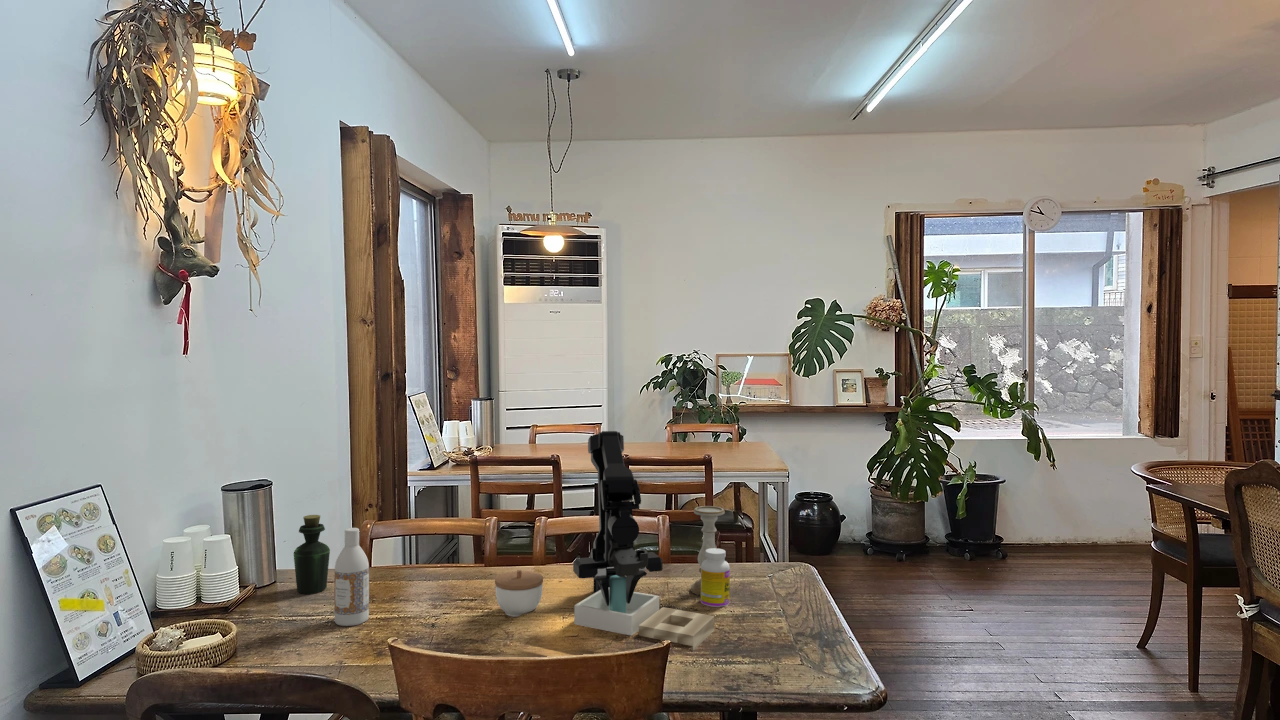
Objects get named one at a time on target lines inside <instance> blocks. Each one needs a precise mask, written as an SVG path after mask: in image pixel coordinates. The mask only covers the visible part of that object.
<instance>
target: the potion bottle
mask: <svg viewBox="0 0 1280 720" xmlns="http://www.w3.org/2000/svg"><path fill="white" fill-rule="evenodd" d="M302 519H303V522H304V524H303V525H301V526H300V527H299V529H298V533H299V534H300V533H301V534H303V538H304V540H305V541H304V543H302V544H300V545H299V546H297V547H296V548H295V550H294V551H293V562H294V572H295V573H294V574H295V582H296V591H297V592H298V593H299V594H302V595H313V594H318V593H322V592H323V591H325V590H326V589H327V584H328V575H329V564H330V551H331V549H330V547H329V546H328V544H327V543H324V542H321V541H319V539H320V536H321V533H322V532H324V531H325V530H326V528H325V525H324V524H323V523H320V519H321V515H320V514H307V515H305V516H303V518H302Z"/></svg>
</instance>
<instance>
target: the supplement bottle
mask: <svg viewBox="0 0 1280 720" xmlns="http://www.w3.org/2000/svg"><path fill="white" fill-rule="evenodd" d="M705 556H706V560H705V561H703V562H702V564H701V566H700V568H701V573H700V579H701V596H700V603H701V604H702V605H704V606H707V607H713V608H715V607H716V608H719V607H720V608H721V607H726V606H728V605H730V584H731V583H730V577H731V575H730V570H731V567H730V563H728V561H727V560H725V559H726V550H725V549H723V548H719V547H718V548H717V547H716V548H711V549H707V550H706V552H705Z"/></svg>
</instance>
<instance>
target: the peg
mask: <svg viewBox="0 0 1280 720" xmlns="http://www.w3.org/2000/svg"><path fill="white" fill-rule="evenodd" d="M609 610H611V611H616V612H622V613H626V576H624V577H619V576H617V575H613V576H611V577H610V602H609Z"/></svg>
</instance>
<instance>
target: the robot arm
mask: <svg viewBox="0 0 1280 720" xmlns="http://www.w3.org/2000/svg"><path fill="white" fill-rule="evenodd" d="M624 444H625V441H624V435H622V434H621V432H620V431H619V432H618V431H616V430H607V431H606V430H602V431H601V432H598V433H596V434H592V435H590V436H589V437H588V440H587V453H588V454H590V462H591V463H592V465H593V466H594V468H595V470H596V471H597V487H598V488H597V489H598V490H597V493H598V494H597V495H598V497H597V498H598V522H599V524H598V528H599V531H598V533H597V536H596V537H595V539H594V541H593V548H591V550H590V555H589V557H579V558H575V560H574V561H573V563H572V568H573V569H572V570H573V571H572V572H573V573H574V574H575V575H576V576H577V577H578V578H579V579H588V578H589V579H591V578H593V589H592V590H593V594H594V593H596V592H598V591H599V590H601V592H602V595H603V597H604V600H605V603H606V605H607V606H609V588H610V577H611V576H613V575H617V576H619V577H624V576H625V577H626V602H627V603H628V604H629V603H630V601H631V598H632V595H633V593H634V592H635V590H636V587H637V585H638V583H639V580H641V578H643V577H645V576H647V575H648V572H650V573H652V572H653V573H654V572H661V571H663V568H664V566H663V559H662V558H661V557H660V556H659V555H657V554H656V553H655V552H654V551H649V552H648V550H647V549H638V550H637V549H636V550H635V546H634V542H635V541H637V539H638V537H639V534H640V527H639V524H638V522H637V520H636V519H635V518H634V516H633V510H640V505H641V503H642V498H641V492H640V490H641V489H640V485H639V483H638V480H637V479H635V477H634V474H633V471H632V469H630V468H628V467H627V466H625V465H626V464H625V461H624V457H623V452H624V450H625V445H624ZM645 569H646V570H647V571H648V572H647V571H646V570H645ZM608 587H609V588H608Z"/></svg>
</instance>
